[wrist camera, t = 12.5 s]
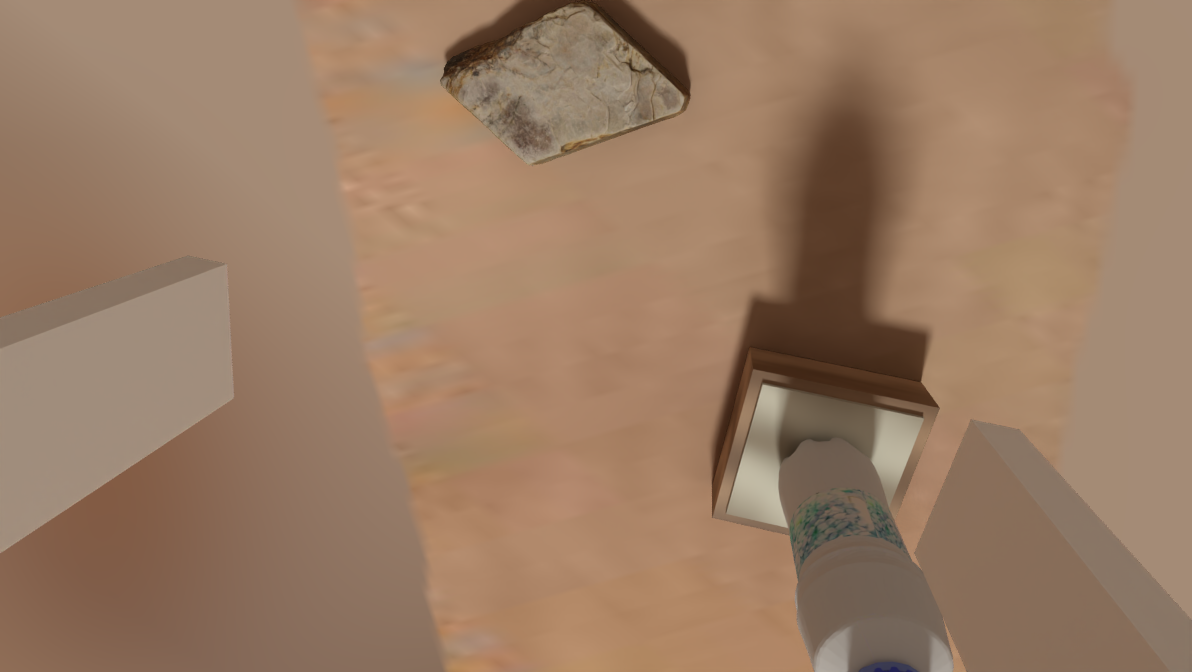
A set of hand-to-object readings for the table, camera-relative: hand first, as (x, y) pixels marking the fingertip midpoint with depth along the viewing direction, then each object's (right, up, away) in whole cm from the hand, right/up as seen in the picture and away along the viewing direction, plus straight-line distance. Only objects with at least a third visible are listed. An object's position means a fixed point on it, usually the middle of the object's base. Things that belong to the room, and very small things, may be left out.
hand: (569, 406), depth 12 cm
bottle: (+16, -8, +33) cm, 38 cm away
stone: (-1, +18, +32) cm, 36 cm away
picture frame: (+16, -6, +37) cm, 41 cm away
